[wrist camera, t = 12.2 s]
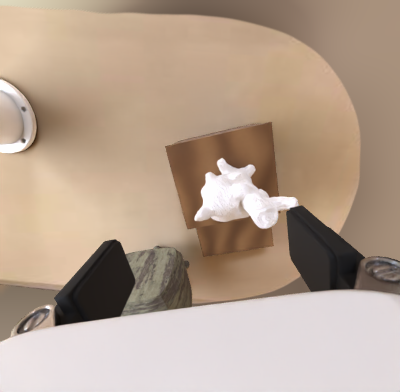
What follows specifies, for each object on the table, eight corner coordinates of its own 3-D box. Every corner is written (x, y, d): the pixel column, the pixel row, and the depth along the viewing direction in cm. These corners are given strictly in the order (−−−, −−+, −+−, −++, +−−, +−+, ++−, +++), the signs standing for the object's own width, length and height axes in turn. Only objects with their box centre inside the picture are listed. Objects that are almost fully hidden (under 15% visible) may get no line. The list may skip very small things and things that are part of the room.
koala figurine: (260, 149, 25) (302, 169, 13) (264, 198, 27) (303, 252, 16) (194, 160, 26) (181, 188, 14) (203, 208, 28) (198, 264, 16)
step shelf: (204, 243, 43) (202, 281, 32) (178, 140, 36) (164, 146, 25) (267, 233, 41) (286, 270, 31) (253, 123, 34) (271, 121, 24)
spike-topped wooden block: (136, 275, 46) (58, 428, 23) (123, 242, 44) (20, 379, 20) (196, 267, 45) (178, 424, 21) (187, 232, 42) (156, 369, 18)
